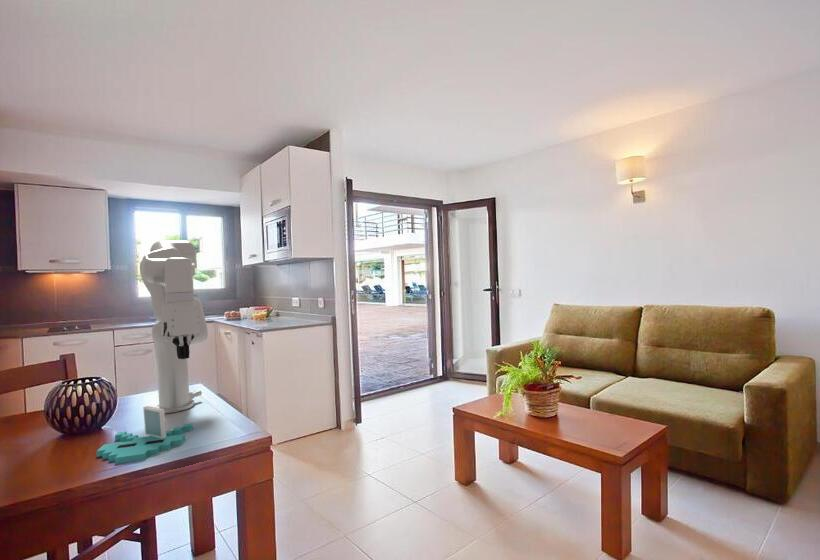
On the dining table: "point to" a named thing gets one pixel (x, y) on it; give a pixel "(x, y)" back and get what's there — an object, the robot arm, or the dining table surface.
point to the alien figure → (141, 445)
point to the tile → (154, 422)
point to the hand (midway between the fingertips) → (183, 358)
